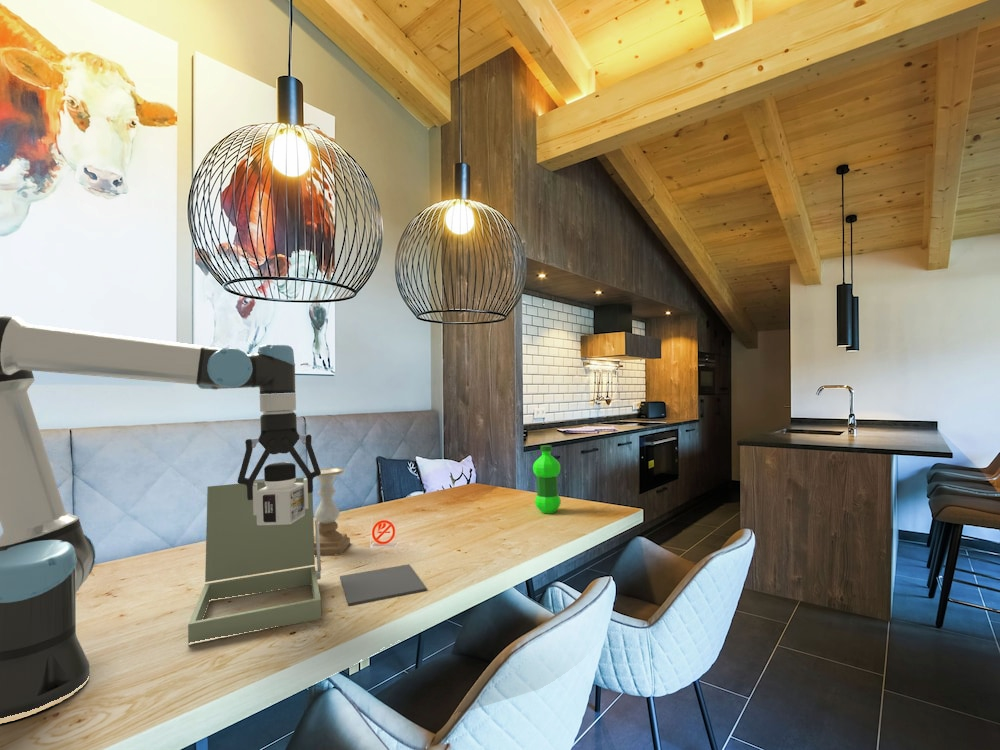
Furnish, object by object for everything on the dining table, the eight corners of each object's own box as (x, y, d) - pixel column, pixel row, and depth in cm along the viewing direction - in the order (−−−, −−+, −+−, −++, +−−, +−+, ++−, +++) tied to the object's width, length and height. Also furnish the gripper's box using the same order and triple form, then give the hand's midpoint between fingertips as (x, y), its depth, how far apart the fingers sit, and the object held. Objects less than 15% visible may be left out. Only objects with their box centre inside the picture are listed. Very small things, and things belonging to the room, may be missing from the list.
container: (291, 524, 108) (289, 465, 108) (256, 526, 108) (254, 466, 109) (305, 515, 116) (303, 460, 116) (272, 516, 116) (271, 461, 116)
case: (327, 617, 105) (325, 546, 105) (188, 645, 95) (187, 566, 95) (319, 576, 128) (318, 518, 128) (207, 595, 118) (206, 532, 118)
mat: (426, 590, 117) (426, 588, 117) (348, 605, 110) (348, 603, 110) (409, 566, 134) (409, 564, 134) (340, 577, 127) (339, 576, 127)
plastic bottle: (541, 516, 181) (539, 448, 182) (530, 510, 191) (528, 445, 192) (566, 513, 184) (564, 446, 185) (554, 507, 194) (552, 443, 195)
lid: (312, 474, 130) (311, 475, 132) (207, 483, 121) (208, 484, 122) (314, 564, 124) (314, 564, 126) (204, 582, 115) (205, 581, 116)
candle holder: (350, 543, 156) (349, 467, 156) (340, 554, 145) (339, 473, 145) (315, 544, 155) (314, 468, 156) (302, 556, 144) (301, 474, 145)
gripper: (328, 409, 121) (331, 500, 120) (224, 415, 111) (227, 513, 111) (331, 410, 114) (334, 507, 113) (220, 416, 105) (223, 521, 104)
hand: (281, 510), depth 112 cm, fingers closed on container, 10 cm apart
